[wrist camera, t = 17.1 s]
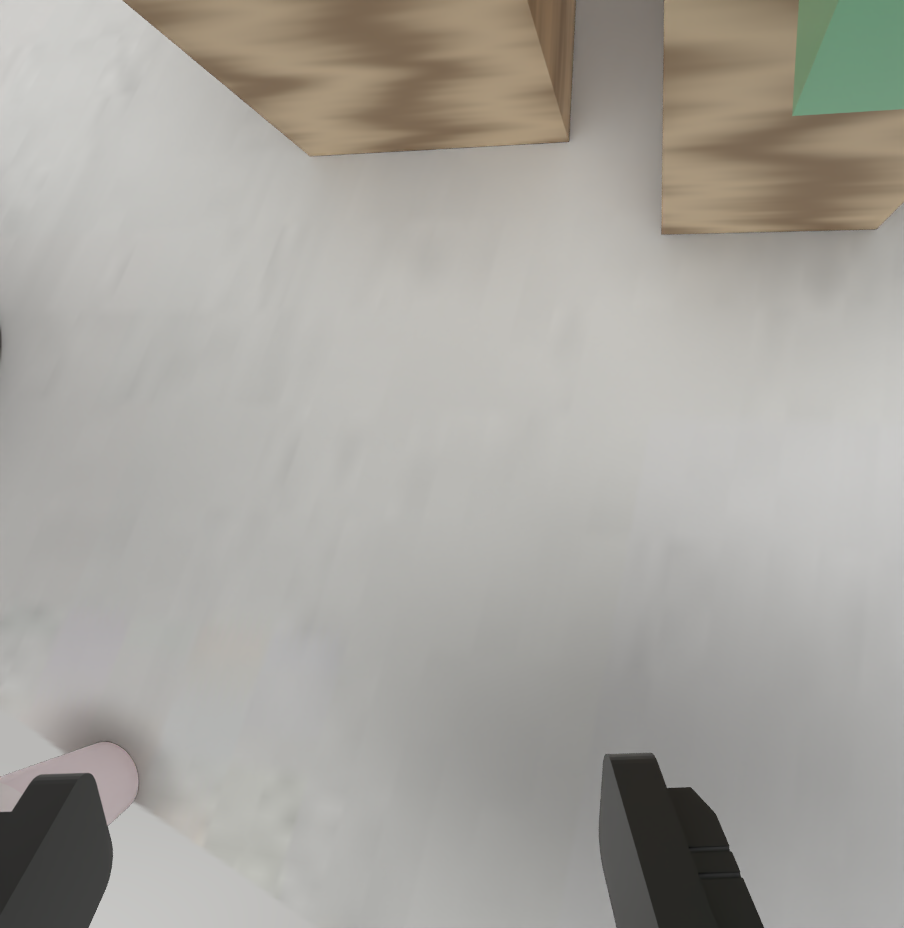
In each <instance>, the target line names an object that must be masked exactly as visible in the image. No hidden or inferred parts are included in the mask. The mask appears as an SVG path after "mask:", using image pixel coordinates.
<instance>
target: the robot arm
mask: <svg viewBox="0 0 904 928" xmlns="http://www.w3.org/2000/svg"><path fill="white" fill-rule="evenodd" d="M599 843H600V853H601V860H602V866H603V871H604V875H605V880H606V884H607V888H608V892H609V897H610V901H611V905H612V909H613V914H614V918H615V922H616V927H617V928H764V927H763V924H762V922H761V920H760V917H759V915H758V912H757V910H756V908H755V905H754V903H753V901H752V898H751V896H750V894H749V891H748V889H747V887H746V884H745V882H744V879H743V878H741V876H740V870H739V868H738V865H737V863H736V861H735V858H734V856H733V853H732V852H730V850H729V844H728V842H727V839H726V837H725V835H724V832H723V830H722V828H721V825H720V823H719V820H718V818H717V816H716V814H715V813H714V812H713V810H712V809H711V808H710V807H709V806H708V805H707V804H706V803H705V802H704V801H703V800H702V799H701V798H700V797H699V796H698V794H697V793H696V792H695V791H694V790H693V789H692V788H691V787H686V788H667V787H666V784H665V782H664V779H663V776H662V773H661V771H660V768H659V765H658V762H657V760H656V758H655V756H654V755H653V754H652V753H631V754H606V755H605V756H604V760H603V771H602V786H601V801H600V816H599ZM112 859H113V848H112V842H111V838H110V834H109V830H108V826H107V822H106V818H105V814H104V810H103V807H102V803H101V799H100V795H99V791H98V787H97V783H96V780H95V778H94V776H93V775H92V774H90V773H67V774H41V775H38V776H36V777H35V778H34V779H33V780H32V781H31V782H30V784H29V785H28V787H27V788H26V790H25V791H24V793H23V794H22V796H21V798H20V799H19V801H18V802H17V804H16V805H15V807H14V808H13V810H12V812H0V928H88V927H89V925H90V923H91V921H92V918H93V916H94V914H95V912H96V910H97V907H98V905H99V903H100V901H101V898H102V896H103V894H104V892H105V890H106V887H107V884H108V881H109V877H110V873H111V868H112Z"/></svg>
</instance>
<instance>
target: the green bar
mask: <svg viewBox="0 0 904 928" xmlns="http://www.w3.org/2000/svg"><path fill="white" fill-rule="evenodd" d="M899 109H904V0H799V8H798V25H797V42H796V59H795V76H794V93H793V110H792V116H802V115H818V114H834V113H850V112H866V111H883V110H899Z"/></svg>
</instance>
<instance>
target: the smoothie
mask: <svg viewBox="0 0 904 928" xmlns="http://www.w3.org/2000/svg"><path fill="white" fill-rule="evenodd" d="M67 773H90V774H92V775H93V776H94V778H95V780H96V783H97V787H98V791H99V795H100V799H101V803H102V807H103V810H104V814H105V818H106V822H107V826H108V825H110V824H111V823H112V822H113V821H114V820H115V819H116V818H117V817H118V816H119V815H120V814H121V813H122V812H124V811H125V810H126V809H127V808H128V807H129V806H130V805H131V804H132V803H133V801H134V799H135V797H136V795H137V791H138V785H139V779H138V772H137V769H136V766H135V764H134V762H133V760H132V758H131V757H130V755H129V754H128V753H127V752H126V751H125V750H124V749H123V748H121V747H120V746H118V745H116V744H114V743H110V742H99V743H95V744H93V745H90V746H87V747H84V748H81V749H78V750H75V751H72V752H69V753H67V754H64V755H61V756H58V757H55V758H52V759H49V760H46V761H44V762H41V763H38V764H35V765H32V766H29V767H27V768H24V769H21V770H18V771H15V772H12V773H9V774H6V775H4V776H0V812H12V810H13V808H14V807H15V805H16V804H17V802H18V801H19V799H20V798H21V796H22V794H23V793H24V791H25V790H26V788H27V787H28V785H29V784H30V782H31V781H32V780H33V779H34V778H35V777H36V776H38V775H41V774H67Z"/></svg>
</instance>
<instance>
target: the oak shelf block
mask: <svg viewBox="0 0 904 928" xmlns="http://www.w3.org/2000/svg"><path fill="white" fill-rule="evenodd" d="M123 1H124V2H125V3H126V4H127V5H129V6H130V7H131V8H132V9H133V10H135V11H136V12H137V13H138V14H139V15H141V16H142V17H143V18H144V19H145V20H147V21H148V22H149V23H150V24H151V25H153V26H154V27H155V28H156V29H157V30H159V31H160V32H161V33H162V34H163V35H165V36H166V37H167V38H168V39H170V40H171V41H172V42H173V43H174V44H176V45H177V46H178V47H179V48H180V49H182V50H183V51H184V52H185V53H186V54H188V55H189V56H190V57H191V58H192V59H194V60H195V61H196V62H197V63H198V64H200V65H201V66H202V67H203V68H204V69H206V70H207V71H208V72H209V73H210V74H212V75H213V76H214V77H215V78H216V79H218V80H219V81H220V82H221V83H222V84H224V85H225V86H226V87H227V88H228V89H230V90H231V91H232V92H233V93H234V94H236V95H237V96H238V97H239V98H240V99H242V100H243V101H244V102H245V103H246V104H248V105H249V106H250V107H251V108H252V109H254V110H255V111H256V112H257V113H258V114H260V115H261V116H262V117H263V118H264V119H266V120H267V121H268V122H269V123H271V124H272V125H273V126H274V127H275V128H277V129H278V130H279V131H280V132H281V133H283V134H284V135H285V136H286V137H287V138H289V139H290V140H291V141H292V142H293V143H295V144H296V145H297V146H298V147H299V148H301V149H302V150H303V151H304V152H305V153H307V154H308V155H309V156H323V155H340V154H358V153H376V152H394V151H411V150H429V149H447V148H465V147H482V146H500V145H518V144H536V143H553V142H569V131H570V111H571V91H572V71H573V51H574V31H575V11H576V0H123Z"/></svg>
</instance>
